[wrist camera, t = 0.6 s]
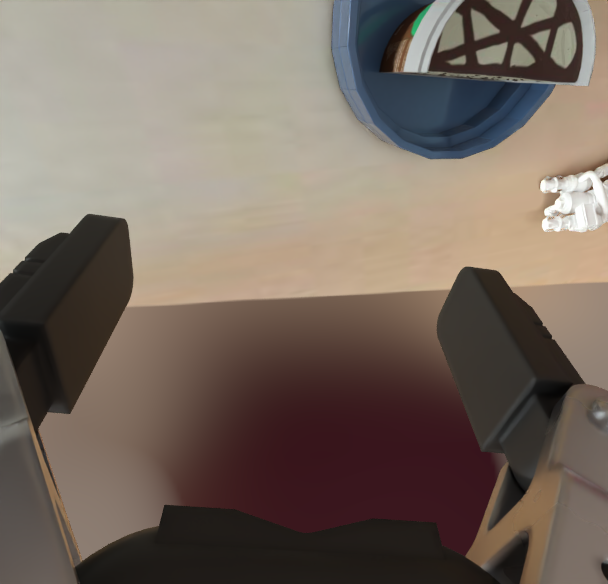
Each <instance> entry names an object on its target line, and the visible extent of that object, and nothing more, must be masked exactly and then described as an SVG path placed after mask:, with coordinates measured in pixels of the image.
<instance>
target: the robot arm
mask: <svg viewBox="0 0 608 584" xmlns="http://www.w3.org/2000/svg"><path fill="white" fill-rule="evenodd" d="M132 288H133V268H132V258H131V249H130V239H129V230H128V225H127V222H126V220H125V219H123V218H116V217H108V216H101V215H94V214H87V215H86V216H85V217H84V218H83V219H82V220H81V221H80V222H79V224H78V225H77V226H76V227H75V228H74V229H73V230H72V231H71V233H70V234H69V233H59V234H57V235H55V236H53V237H51V238H49V239H47V240H45V241H43V242H41V243H39V244H38V245H37V246H36V247H35V248H34V249H33V250H32V251H31V252H30V253H29V254H28V255H27V256H26V257H25V261H21V262H20V263H19V265H18V266H17V267H16V268H15V269H14V270H13V273H10V274H9V275H8V276H7V277H6V278H5V279H4V280H3V281H2V282H1V283H0V584H608V391H607V390H605V389H602V388H599V387H597V386H593V385H587V384H585V383H584V381H583V380H582V378H581V377H580V376H579V374H578V372H577V371H576V370H575V368H574V367H573V365H572V364H571V363H570V361H569V360H568V358H567V357H566V355H565V354H564V353H563V351H562V350H561V348H560V347H559V346H558V344H557V343H556V341H555V340H553V339H552V335H551V334H550V333H549V331H548V330H547V328H546V327H545V326H542V324H543V323H542V321H541V320H540V319H539V317H538V316H537V314H536V313H535V311H534V310H533V308H532V307H531V306H529V305H528V304H527V303H526V302H525V301H523V300H522V299H521V298H520V297H519V296H518V295H516V294H515V293H513V292H512V290H511V289H510V287H509V286H508V284H507V283H506V281H505V280H504V278H503V277H502V275H501V274H500V273H499V272H498V271H496V270H489V269H482V268H474V267H464V268H463V269H462V270H461V271H460V272H459V274H458V276H457V278H456V280H455V282H454V284H453V286H452V289H451V291H450V293H449V295H448V297H447V299H446V301H445V303H444V305H443V307H442V310H441V312H440V314H439V317H438V321H437V335H438V339H439V341H440V344H441V347H442V350H443V352H444V355H445V357H446V360H447V363H448V365H449V368H450V370H451V373H452V375H453V378H454V381H455V383H456V386H457V389H458V391H459V394H460V396H461V399H462V402H463V404H464V407H465V409H466V412H467V415H468V417H469V420H470V422H471V425H472V427H473V430H474V433H475V435H476V438H477V441H478V443H479V446H480V448H481V451H483V452H495V453H505V456H506V458H507V460H508V461H507V463H506V464H505V465H504V466H503V467H502V469H501V471H500V473H499V476H498V479H497V481H496V484H495V487H494V490H493V493H492V495H491V498H490V501H489V503H488V506H487V509H486V512H485V515H484V517H483V520H482V523H481V526H480V529H479V531H478V534H477V537H476V539H475V541H474V543H473V545H472V547H471V549H470V550H469V552H468V553H467V555H466V556H463V555H461V554H459V553H457V552H455V551H453V550H451V549H449V548H447V547H445V546H442V544H441V540H440V537H439V532H438V528H437V524H436V523H432V522H417V521H402V520H387V519H369V520H365V521H360V522H356V523H352V524H348V525H343V526H339V527H335V528H330V529H326V530H322V531H318V532H313V533H301V532H297V531H294V530H292V529H289V528H286V527H283V526H280V525H278V524H275V523H272V522H269V521H266V520H263V519H260V518H258V517H255V516H252V515H249V514H246V513H243V512H240V511H238V510H235V509H220V508H205V507H190V506H174V505H164V509H163V513H162V517H161V521H160V525H159V526H157V527H152V528H148V529H144V530H141V531H138V532H135V533H133V534H130V535H127V536H125V537H123V538H121V539H119V540H116V541H115V542H112V543H110V544H108V545H107V546H105V547H103V548H102V549H100V550H98V551H97V552H95V553H94V554H92V555H90V556H89V557H88V558H86V559H85V560H83V561H82V558H81V555H80V552H79V549H78V546H77V543H76V540H75V537H74V535H73V532H72V529H71V526H70V523H69V520H68V517H67V514H66V511H65V508H64V505H63V502H62V499H61V496H60V493H59V490H58V487H57V484H56V480H55V477H54V474H53V471H52V468H51V465H50V462H49V459H48V456H47V453H46V450H45V447H44V444H43V440H42V437H41V434H40V432H39V429H38V428H39V426H40V424H41V422H42V421H43V419H44V417H45V416H46V414H47V412H53V413H64V414H70V413H71V411H72V409H73V407H74V405H75V404H76V402H77V400H78V398H79V396H80V394H81V392H82V390H83V388H84V386H85V384H86V382H87V381H88V379H89V377H90V375H91V373H92V371H93V369H94V367H95V365H96V363H97V361H98V359H99V357H100V356H101V353H102V352H103V350H104V348H105V346H106V344H107V342H108V340H109V338H110V336H111V334H112V332H113V330H114V328H115V326H116V325H117V323H118V321H119V319H120V317H121V315H122V313H123V311H124V309H125V307H126V306H127V304H128V302H129V299H130V297H131V293H132Z"/></svg>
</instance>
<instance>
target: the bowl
mask: <svg viewBox="0 0 608 584" xmlns="http://www.w3.org/2000/svg"><path fill="white" fill-rule="evenodd" d="M434 1H436V0H335V1H334V7H333V27H332V47H331V48H332V54H333V58H334V63H335V67H336V72H337V77H338V81H339V86H340V88H341V90H342V92H343V94H344V96H345V98H346V99H347V101H348V103H349V105H350V107H351V108H352V110H353V112H354V114H355V116H356V117H357V119H358V120H359V121H360V122H361V123H362V124H363V125H365V126H366V127H367V128H368V129H369V130H370V131H371V132H372V133H374V134H375V135H376V136H377V137H378V138H379V139H380V140H382V141H384V142H387V143H389V144H392V145H394V146H397V147H399V148H402V149H404V150H407V151H410V152H412V153H415V154H418V155H420V156H423V157H426V158H428V159H461V158H465V157H468V156H471V155H473V154H476V153H479V152H482V151H485V150H487V149H490V148H493V147H495V146H496V145H498V144H499V143H500V142H502V141H503V140H505V139H506V138H507V137H509V136H510V135H512V134H513V133H514V132H516V131H517V130H518V129H520V128H521V127H523V126H524V125H525V124H526V123H527V121H528V120H529V119H530V118H531V117H532V116H533V114H534V113H535V112H536V111H537V110H538V109H539V107H540V106H541V105H542V104H543V103H544V102H545V100H546V99H547V98H548V97H549V96H550V94H551V93H552V91H553V89H554V87H555V85H556V84H539V83H518V82H497V81H479V80H467V79H455V78H442V77H430V76H418V75H405V74H393V73H381V72H379V70H380V65H381V60H382V57H383V54H384V51H385V48H386V46H387V44H388V42H389V40H390V38H391V36H392V35H393V33H394V32H395V30H396V29H397V28H398V26H399V25H400V24H401V23H402V22H403V21H404V20H405V19H406V18H407V17H408V16H409V15H411V14H412V13H413V12H415V11H417V10H418V9H420V8H422V7H424V6H426V5H428V4H430V3H432V2H434Z"/></svg>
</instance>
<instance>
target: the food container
mask: <svg viewBox="0 0 608 584" xmlns="http://www.w3.org/2000/svg"><path fill="white" fill-rule="evenodd" d="M595 51H596V33H595V23H594V19H593V15H592V11H591V8H590V6H589V3H588V1H587V0H436V1H434V2H432V3H430V4H428V5H426V6H424V7H422V8H420V9H418V10H417V11H415V12H413V13H412V14H411V15H409V16H408V17H407V18H406V19H405V20H404V21H403V22H402V23H401V24H400V25H399V26H398V28H397V29H396V30H395V32H394V33H393V35H392V36H391V38H390V40H389V42H388V44H387V46H386V48H385V51H384V54H383V57H382V60H381V65H380V70H379V72H381V73H393V74H405V75H418V76H430V77H442V78H455V79H467V80H479V81H497V82H518V83H539V84H559V85H575V86H589V82H590V79H591V75H592V72H593V66H594V60H595Z"/></svg>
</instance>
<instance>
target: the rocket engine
mask: <svg viewBox="0 0 608 584" xmlns="http://www.w3.org/2000/svg"><path fill="white" fill-rule="evenodd" d="M607 175H608V163H607V164H604V165H602V166H600V167H598V168H596V170H595V171H587V172H585V173H579V174H576V175H569V176H567V177H563V179H560V178H559V175H557V176H558V178H559V179H560V180H558V179H557V177H553V178H552V177H550V178H552V179H551V180H546V178H547V177H548V176H546V178H544V180H543V181H541V184H540V189H541V191H543V193H548V192H547V191H546V190H550V192H553V193H554V192H555V193H557V192H556V191H557V190H560V189H562V190H561V191H559V192H560V195H561V196H560V197H559V198H558V199H557V200H556V201H555V205H553V206H552V205H551V206H549V207H548V208H546V209H545V210H544V213H545V216H547V217H546V218H545V219H543V222H542V228H543V230H544V232H545V231H547V229H554V230H552V231H562V230H561V228H565V229H564V230H566V229H568V230H570V231H578V232H586V231H587V230H588V229H589V230H591V231H592V230H595V229H597V228H599V227H600V226H601V225H602V224H603V223H605V222H608V179H607V180H605V181H604V182H603V183H602V181H601V180H600V178H603V177H605V176H607ZM560 177H562V176H560ZM548 179H549V178H548ZM592 182H593V185H592ZM591 185H592V186H593V190H589V191H588V192H585V191H587V190H588V189H589V188H590V187H591ZM545 191H546V192H545ZM583 192H584V193H583ZM554 212H556V213H554ZM559 212H561V213H562V215H563V214H569V213H575V214H573V215H570V216H565V215H564V216H565V217H564V218H563V217H562V218H563V219H561V217H560V215H561V214H560V215H559V216H557V215H558V214H559ZM562 215H561V216H562ZM549 216H550V217H551V216H554V217H555V218H554V219H553V218H552V217H551V218H552V219H550V220H547V218H548V217H549ZM547 232H550V231H549V230H548V231H547Z"/></svg>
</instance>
